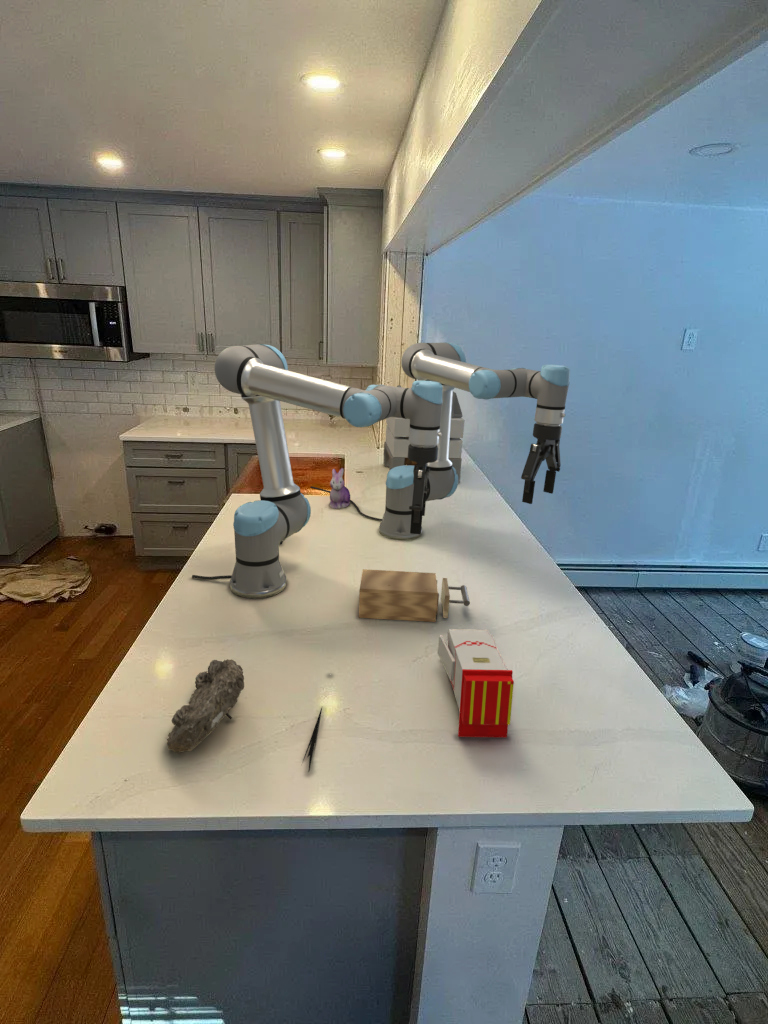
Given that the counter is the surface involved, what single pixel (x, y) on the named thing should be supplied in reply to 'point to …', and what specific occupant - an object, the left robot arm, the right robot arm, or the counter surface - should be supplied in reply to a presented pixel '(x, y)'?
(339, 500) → the figurine
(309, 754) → the feather
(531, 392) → the right robot arm
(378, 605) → the wooden drawer box
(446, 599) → the drawer
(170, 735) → the fossil
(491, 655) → the toy
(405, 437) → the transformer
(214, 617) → the counter surface
